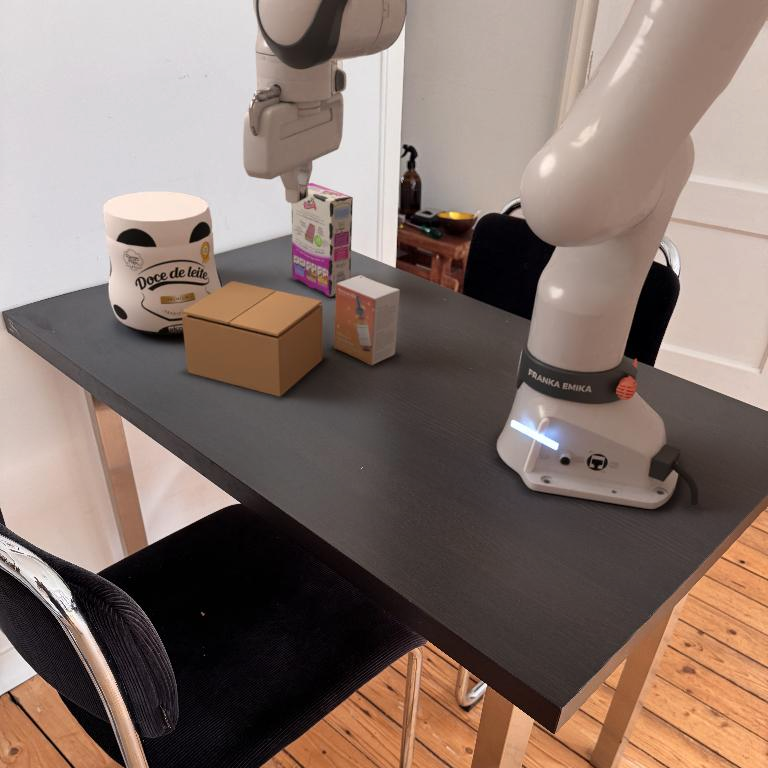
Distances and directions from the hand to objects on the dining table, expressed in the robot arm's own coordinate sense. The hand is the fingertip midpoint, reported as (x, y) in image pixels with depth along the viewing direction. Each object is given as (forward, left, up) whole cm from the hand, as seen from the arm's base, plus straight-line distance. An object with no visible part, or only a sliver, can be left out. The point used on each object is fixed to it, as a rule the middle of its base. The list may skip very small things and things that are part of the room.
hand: (296, 200), depth 102 cm
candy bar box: (+11, -30, -24) cm, 40 cm away
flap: (+1, +3, -15) cm, 15 cm away
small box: (-7, -9, -24) cm, 26 cm away
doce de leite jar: (+25, -4, -24) cm, 35 cm away
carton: (+5, +3, -24) cm, 24 cm away
